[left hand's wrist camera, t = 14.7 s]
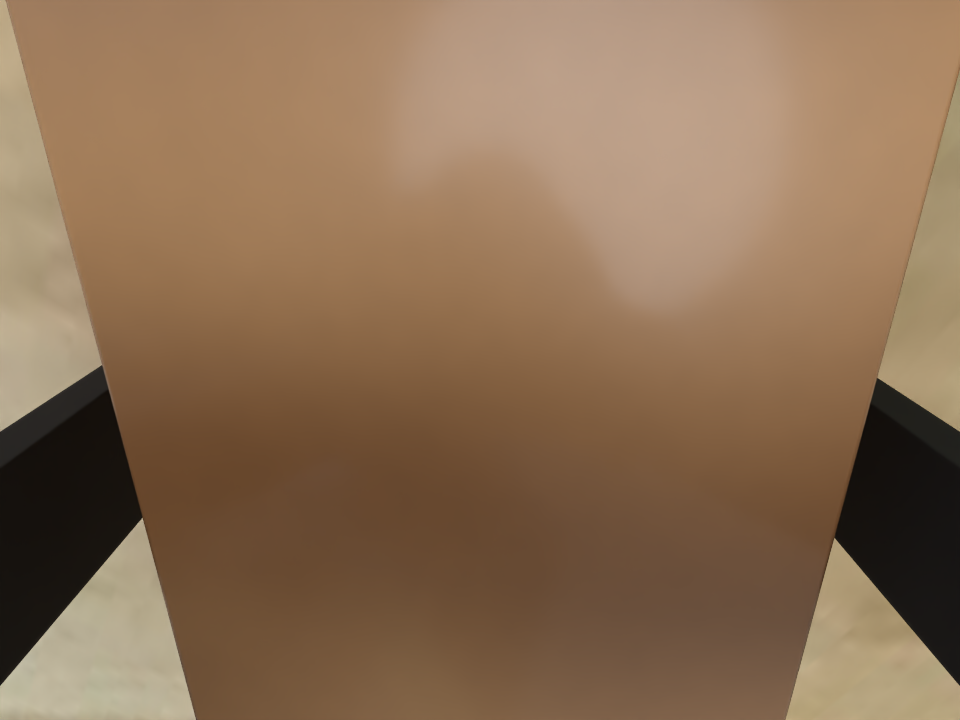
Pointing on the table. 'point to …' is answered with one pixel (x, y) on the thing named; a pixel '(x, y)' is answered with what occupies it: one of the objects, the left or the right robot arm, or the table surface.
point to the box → (490, 330)
